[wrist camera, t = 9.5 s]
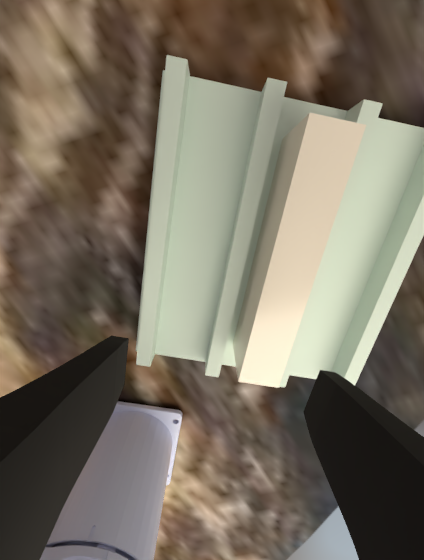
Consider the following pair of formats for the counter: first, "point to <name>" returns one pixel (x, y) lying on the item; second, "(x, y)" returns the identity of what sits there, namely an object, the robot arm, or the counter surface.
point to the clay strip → (292, 242)
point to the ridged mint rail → (248, 219)
